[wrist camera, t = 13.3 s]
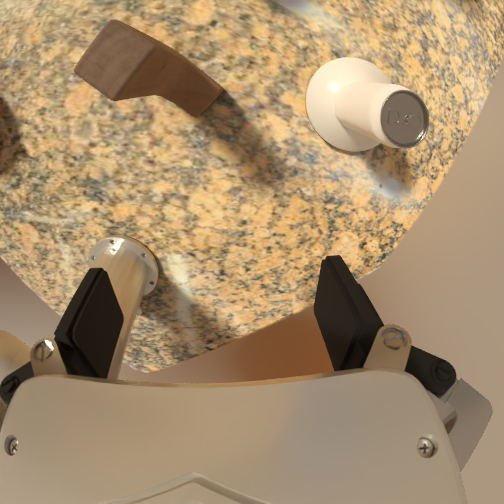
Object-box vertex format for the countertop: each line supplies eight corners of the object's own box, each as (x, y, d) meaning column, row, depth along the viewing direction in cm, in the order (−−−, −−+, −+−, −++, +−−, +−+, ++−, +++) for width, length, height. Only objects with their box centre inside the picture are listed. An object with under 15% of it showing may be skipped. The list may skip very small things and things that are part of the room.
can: (374, 131, 31) (427, 156, 21) (330, 126, 31) (373, 148, 21) (378, 86, 27) (435, 94, 17) (332, 78, 27) (378, 78, 17)
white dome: (389, 153, 34) (392, 155, 33) (303, 147, 33) (305, 149, 32) (395, 67, 26) (399, 67, 25) (304, 52, 26) (306, 51, 25)
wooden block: (225, 89, 28) (213, 88, 14) (200, 115, 30) (164, 143, 15) (171, 48, 25) (110, 16, 10) (147, 74, 26) (69, 71, 11)
